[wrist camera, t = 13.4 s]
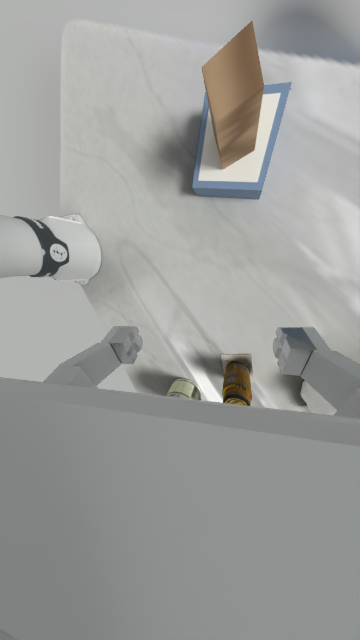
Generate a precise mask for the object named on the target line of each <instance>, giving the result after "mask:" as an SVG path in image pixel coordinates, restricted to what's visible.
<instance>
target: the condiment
mask: <svg viewBox="0 0 360 640" xmlns="http://www.w3.org/2000/svg"><path fill="white" fill-rule="evenodd" d="M221 359H222V365H223V371H224V383H223V392H222V394H223V403H228V404H237V405H245V406H250V402H251V400H252V394H251V384H250V383H254V380H253V371H252V362H251V354H231V355H221ZM229 362H230V363H229ZM246 364H247V365H246Z"/></svg>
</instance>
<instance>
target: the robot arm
mask: <svg viewBox="0 0 360 640" xmlns="http://www.w3.org/2000/svg"><path fill="white" fill-rule="evenodd" d="M100 265H101V250H100V246H99V243H98V241H97V239H96V237H95V235H94V234H93V233H92V231H91V230H90V229H89V228H88V227H87V226H86V224H85V222H84V220H83V218H82V217H81V216H80V215H78V214H73V215H68V216H63V217H53V216H48V217H46V218H42V219H40V220H35V219H32V218H28V217H18V216H17V217H8V216H4V215H0V278H4V277H14V276H27V275H28V276H31V277H46V276H49V277H52V278H54V279H55V280H58V281H75V282H77V283H79V284H81V285H86V284H87V283H88V281H89V279H90V278H91V277H93V276H94V275H95V274H96V273H97V272H98V270H99V268H100ZM138 333H139V330H138V328H137V327H134V326H115V327H113V328H112V329H111V330H110V332H109V333H108V334H107V335H106V336H105V338H104V339H103V340H102V341H101V342H100V343H97V344H95V345H93V346H92V347H90V348H88V349H86V350H84V351H83V352H81V353H79V354H77V355H76V356H74V357H72V358H70V359H68V360H67V361H65V362H64V363H61V364H60V365H59V366H58V367H57V368H56V369H55V370H54V371H53V372H52V373H51V374H50V375H49V376H48V378H46V380H45V381H44V382H36V381H28V380H18V379H10V378H1V377H0V640H360V364H359V363H357V362H355V361H353V360H351V359H349V358H348V357H346V356H344V355H342V354H340V353H338V352H337V351H331V349H330V348H329V347H328V345H327V344H326V343H325V341H324V340H323V339H322V337H321V336H320V335H319V333H318V332H317V331H316V329H315V328H313V327H278V328H277V330H276V335H277V338H275V339H274V342H273V352H274V355H275V357H276V358H278V359H279V360H278V363H277V364H278V366H279V369H280V372H281V374H287V375H298V376H301V377H302V378H303V379H304V380H305V381H306V382H307V383H308V384H309V385H310V386H311V387H312V388H313V389H315V390H316V391H317V392H318V393H319V394H320V395H321V396H322V397H323V398H324V399H325V400H326V401H327V402H329V403H330V404H331V405H332V406H333V407H334V408H335V409H336V410H337V412H336V413H335V414H334V415H324V414H315V413H306V412H298V411H289V410H280V409H271V408H263V407H254V406H245V405H237V404H228V403H219V402H210V401H201V400H193V399H184V398H175V397H167V396H158V395H149V394H141V393H132V392H123V391H114V390H105V389H98V388H97V385H98V384H99V383H100V382H101V381H102V380H104V379H105V378H106V377H107V376H108V375H109V374H111V373H112V372H113V371H114V370H115V369H116V368H117V367H119V366H120V365H121V364H134V362H135V360H136V358H137V352H139V351H140V350H141V348H142V343H143V342H142V338H141V336H140V335H139V334H138Z"/></svg>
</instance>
